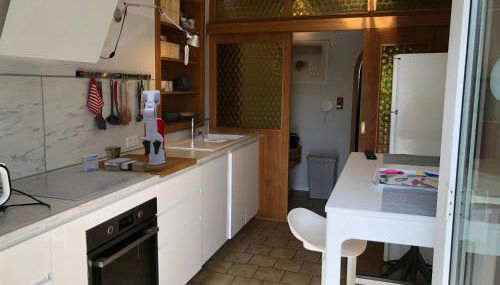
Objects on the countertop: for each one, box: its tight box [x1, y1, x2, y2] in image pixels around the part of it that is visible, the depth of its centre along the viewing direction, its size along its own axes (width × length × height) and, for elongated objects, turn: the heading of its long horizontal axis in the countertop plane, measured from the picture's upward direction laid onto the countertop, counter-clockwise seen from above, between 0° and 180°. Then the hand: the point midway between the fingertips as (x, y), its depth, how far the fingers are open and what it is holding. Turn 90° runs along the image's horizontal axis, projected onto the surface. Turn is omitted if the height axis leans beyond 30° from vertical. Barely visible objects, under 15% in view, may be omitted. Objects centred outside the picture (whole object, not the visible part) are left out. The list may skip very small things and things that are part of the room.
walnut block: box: [131, 161, 150, 172], centre depth 239 cm, size 5×8×4 cm, turn 62°
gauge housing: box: [104, 157, 134, 172], centre depth 246 cm, size 12×10×5 cm
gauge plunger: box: [116, 160, 140, 170], centre depth 242 cm, size 12×9×4 cm
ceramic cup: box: [103, 145, 122, 161], centre depth 263 cm, size 13×10×10 cm
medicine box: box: [80, 154, 100, 173], centre depth 242 cm, size 8×4×9 cm, turn 143°
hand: (152, 154), depth 235 cm, fingers open, 5 cm apart
